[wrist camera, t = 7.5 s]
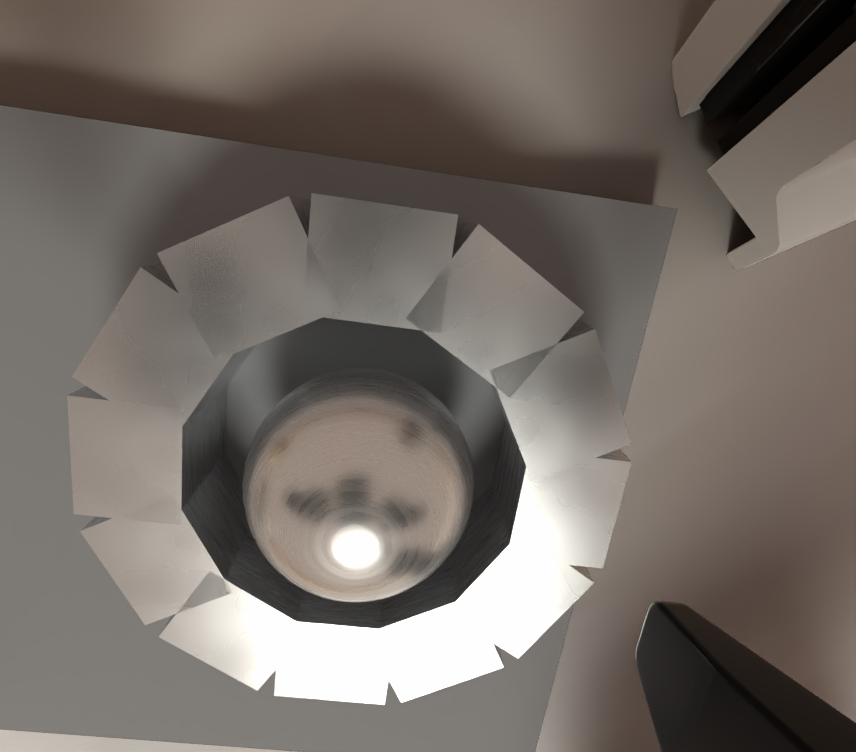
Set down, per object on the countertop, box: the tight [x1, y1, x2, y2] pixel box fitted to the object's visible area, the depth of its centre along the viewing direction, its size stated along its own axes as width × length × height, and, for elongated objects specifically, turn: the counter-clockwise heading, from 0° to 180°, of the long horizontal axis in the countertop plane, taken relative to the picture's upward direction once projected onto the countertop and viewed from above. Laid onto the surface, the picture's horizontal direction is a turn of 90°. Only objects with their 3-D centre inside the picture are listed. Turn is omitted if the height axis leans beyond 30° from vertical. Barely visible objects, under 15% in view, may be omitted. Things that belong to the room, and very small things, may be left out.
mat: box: [0, 105, 677, 752], centre depth 13 cm, size 16×21×1 cm
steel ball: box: [243, 368, 474, 602], centre depth 10 cm, size 4×4×4 cm
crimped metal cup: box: [67, 193, 632, 705], centre depth 11 cm, size 10×10×2 cm
